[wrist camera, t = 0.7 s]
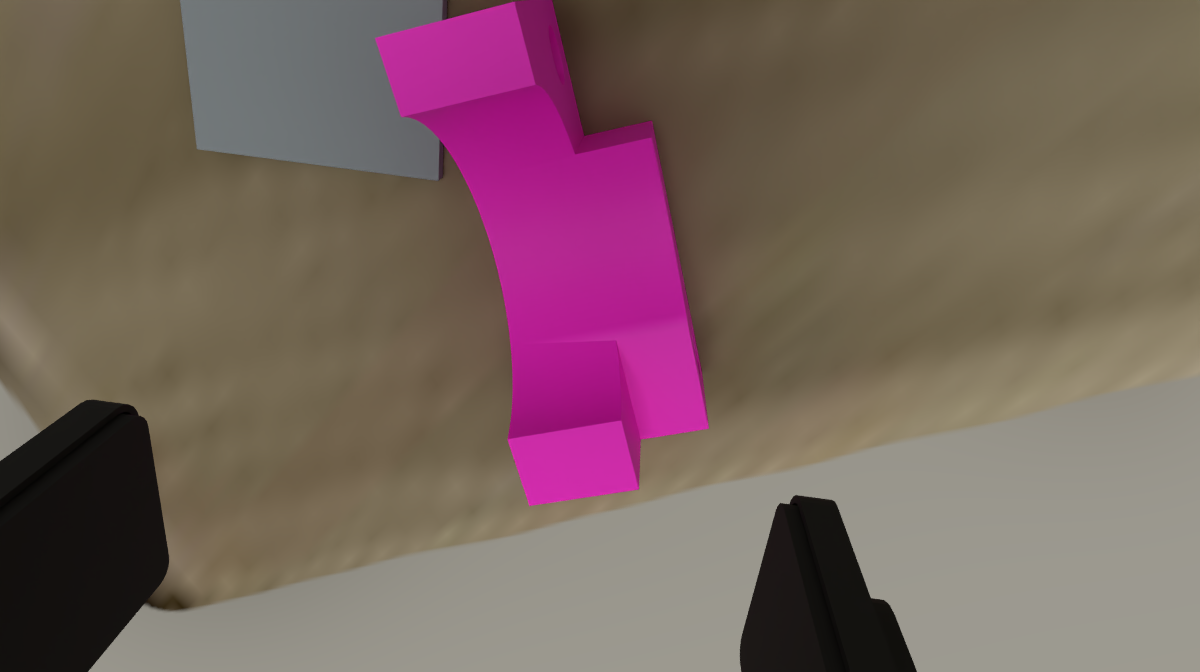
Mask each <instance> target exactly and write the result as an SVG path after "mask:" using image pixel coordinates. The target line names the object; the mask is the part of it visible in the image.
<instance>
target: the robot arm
mask: <svg viewBox="0 0 1200 672" xmlns="http://www.w3.org/2000/svg"><path fill="white" fill-rule="evenodd" d="M168 565H169V554H168V547H167V541H166V535H165V529H164V522H163V516H162V510H161V503H160V497H159V491H158V485H157V478H156V472H155V466H154V459H153V453H152V447H151V441H150V434H149V428H148V424H147V421H146V420H145V418H143V417H141V416H139V415H138V412H137V410H136V409H135V408H134V407H133V406H131V405H128V404H121V403H113V402H106V401H99V400H86V401H84V402H82V403H80V404H79V405H78V406H76V407H75V408H73V409H72V410H71V411H69V412H68V413H66V414H65V415H64V416H62V417H61V418H59V419H58V420H57V421H55V422H54V423H53V424H51V425H50V426H48V427H47V428H46V429H44V430H43V431H41V432H40V433H39V434H37V435H36V436H34V437H33V438H32V439H30V440H29V441H28V442H26V443H25V444H23V445H22V446H21V447H19V448H18V449H16V450H15V451H14V452H12V453H11V454H10V455H8V456H7V457H6V458H4V459H3V460H1V461H0V672H88V671H89V670H90V668H91V667H92V666H93V665H94V664H95V662H96V661H97V660H98V659H99V658H100V656H101V655H102V654H103V653H104V651H105V650H106V649H107V648H108V647H109V646H110V644H111V643H112V642H113V641H114V639H115V638H116V637H117V636H118V635H119V633H120V632H121V631H122V630H123V629H124V627H125V626H126V625H127V624H128V623H129V621H130V620H131V619H132V618H133V617H134V615H135V614H136V613H137V612H138V611H139V609H140V608H141V607H142V606H143V604H144V603H145V602H146V601H147V600H148V598H149V597H150V596H151V595H152V594H153V592H154V591H155V590H156V589H157V588H158V586H159V585H160V584H161V582H162V581H163V579H164V577H165V575H166V573H167V569H168ZM740 665H741V672H917V671H916V668H915V665H914V663H913V660H912V658H911V655H910V653H909V650H908V648H907V645H906V643H905V640H904V638H903V635H902V633H901V630H900V627H899V625H898V622H897V620H896V617H895V615H894V612H893V611H892V609H891V607H890V605H889V604H888V603H887V602H885V601H884V600H880V599H872V598H871V597H870V595H869V592H868V589H867V587H866V584H865V581H864V578H863V575H862V573H861V570H860V567H859V565H858V562H857V559H856V556H855V553H854V551H853V548H852V546H851V543H850V540H849V537H848V534H847V532H846V529H845V526H844V523H843V521H842V518H841V515H840V512H839V510H838V507H837V505H836V503H835V502H834V501H833V500H827V499H820V498H812V497H804V496H798V495H795V496H794V497H793V498H792V499H791V502H790V504H783V503H780V504H779V505H778V507H777V509H776V512H775V516H774V519H773V523H772V527H771V530H770V534H769V538H768V541H767V545H766V549H765V552H764V556H763V560H762V564H761V567H760V571H759V575H758V578H757V582H756V586H755V589H754V593H753V597H752V601H751V604H750V608H749V611H748V615H747V619H746V623H745V626H744V630H743V634H742V638H741V644H740Z"/></svg>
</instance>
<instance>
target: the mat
mask: <svg viewBox="0 0 1200 672" xmlns="http://www.w3.org/2000/svg"><path fill="white" fill-rule="evenodd" d="M180 3H181V12H182V21H183V30H184V38H185V47H186V56H187V65H188V74H189V82H190V91H191V100H192V109H193V118H194V126H195V135H196V144H197V149H201V150H208V151H216V152H223V153H231V154H238V155H246V156H254V157H261V158H269V159H276V160H284V161H292V162H299V163H307V164H314V165H322V166H330V167H337V168H345V169H352V170H360V171H368V172H375V173H383V174H390V175H398V176H406V177H413V178H421V179H428V180H436V181H439V180H440V179H441V178H442V177H443V143H442V142H441V141H440V139H439V138H438V137H437V136H436V135H435V134H434V133H433V132H432V131H431V130H430V129H429V128H427V127H426V126H425V125H424V124H422V123H421V122H419V121H417V120H415V119H412V118H409V117H401V116H400V112H399V109H398V106H397V103H396V100H395V97H394V94H393V91H392V88H391V85H390V82H389V79H388V76H387V73H386V70H385V67H384V64H383V61H382V58H381V55H380V52H379V49H378V46H377V43H376V40H375V38H377V37H380V36H384V35H388V34H392V33H396V32H400V31H403V30H407V29H411V28H415V27H419V26H423V25H426V24H430V23H434V22H438V21H442V20H446V19H447V0H180Z"/></svg>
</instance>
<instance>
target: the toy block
mask: <svg viewBox="0 0 1200 672" xmlns="http://www.w3.org/2000/svg"><path fill="white" fill-rule="evenodd" d="M375 40H376V43H377V46H378V49H379V52H380V55H381V58H382V61H383V64H384V67H385V70H386V73H387V76H388V79H389V82H390V85H391V88H392V91H393V94H394V97H395V100H396V103H397V106H398V109H399V112H400V116H401V117H409V118H412V119H415V120H417V121H419V122H421V123H422V124H424V125H425V126H426V127H427V128H429V129H430V130H431V131H432V132H433V133H434V134H435V135H436V136H437V137H438V138H439V139H440V141H441V142H442V143H443V144H444V146H445V147H446V148H447V150H448V151H449V153H450V154H451V156H452V157H453V159H454V161H455V162H456V164H457V166H458V167H459V169H460V171H461V173H462V175H463V177H464V179H465V180H466V182H467V185H468V187H469V189H470V191H471V193H472V195H473V198H474V200H475V203H476V205H477V207H478V210H479V213H480V215H481V218H482V220H483V223H484V226H485V229H486V232H487V235H488V238H489V241H490V245H491V248H492V251H493V255H494V259H495V262H496V266H497V270H498V274H499V278H500V282H501V287H502V292H503V297H504V302H505V308H506V313H507V320H508V327H509V335H510V343H511V355H512V372H513V398H512V414H511V422H510V429H509V434H508V442H509V445H510V448H511V451H512V454H513V457H514V460H515V463H516V466H517V469H518V472H519V475H520V479H521V482H522V485H523V488H524V491H525V494H526V497H527V500H528V503H529V506H531V505H538V504H545V503H551V502H558V501H565V500H571V499H578V498H585V497H591V496H598V495H605V494H611V493H618V492H625V491H632V490H638V489H639V472H640V442H641V439H647V438H653V437H659V436H666V435H672V434H678V433H684V432H691V431H697V430H703V429H709V426H708V418H707V409H706V401H705V393H704V384H703V376H702V370H701V365H700V360H699V355H698V350H697V345H696V340H695V335H694V329H693V324H692V319H691V314H690V309H689V304H688V299H687V294H686V289H685V284H684V279H683V274H682V269H681V264H680V259H679V254H678V249H677V244H676V239H675V234H674V229H673V224H672V219H671V214H670V209H669V204H668V199H667V194H666V189H665V184H664V178H663V173H662V168H661V163H660V158H659V153H658V148H657V143H656V138H655V133H654V128H653V123H652V121H648V122H643V123H639V124H635V125H630V126H626V127H621V128H617V129H613V130H608V131H604V132H599V133H595V134H591V135H586V136H584V133H583V129H582V125H581V121H580V117H579V112H578V108H577V104H576V100H575V95H574V91H573V87H572V83H571V78H570V74H569V70H568V66H567V62H566V57H565V53H564V49H563V45H562V40H561V36H560V32H559V28H558V23H557V19H556V15H555V11H554V7H553V2H552V0H526V1H516V2H511V3H507V4H503V5H500V6H496V7H492V8H488V9H484V10H480V11H476V12H473V13H469V14H465V15H461V16H457V17H453V18H450V19H446V20H442V21H438V22H434V23H430V24H426V25H423V26H419V27H415V28H411V29H407V30H403V31H400V32H396V33H392V34H388V35H384V36H380V37H377V38H375Z"/></svg>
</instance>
